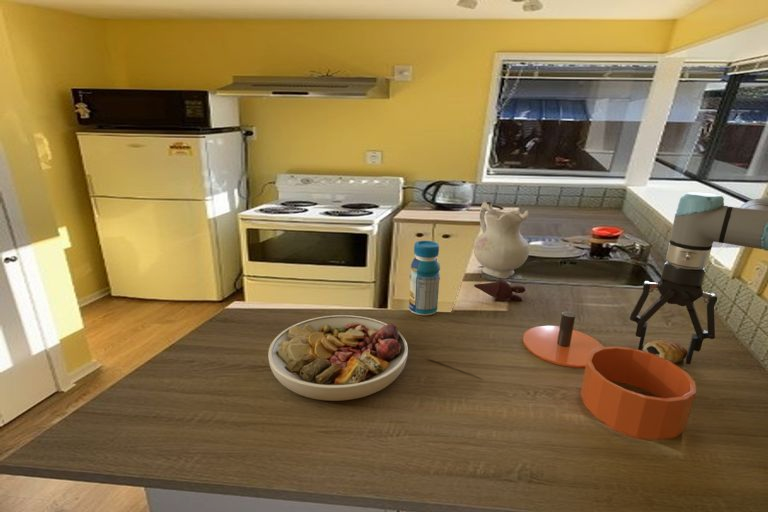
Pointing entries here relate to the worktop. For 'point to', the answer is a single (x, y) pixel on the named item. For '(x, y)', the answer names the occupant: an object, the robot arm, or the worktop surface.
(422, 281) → the beverage bottle
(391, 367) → the bowl
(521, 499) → the worktop surface
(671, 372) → the pot
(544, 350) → the pot lid
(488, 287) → the icecream
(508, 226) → the ceramic pitcher
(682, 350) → the pastry
